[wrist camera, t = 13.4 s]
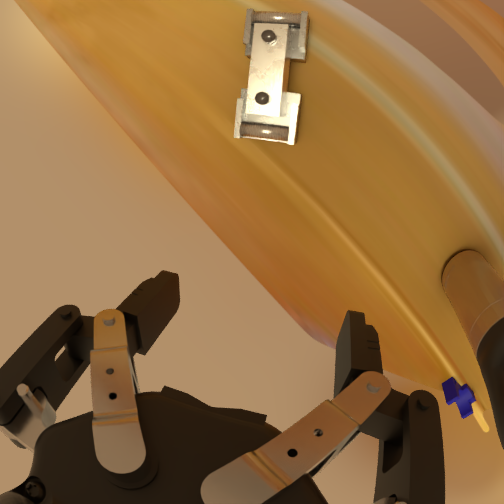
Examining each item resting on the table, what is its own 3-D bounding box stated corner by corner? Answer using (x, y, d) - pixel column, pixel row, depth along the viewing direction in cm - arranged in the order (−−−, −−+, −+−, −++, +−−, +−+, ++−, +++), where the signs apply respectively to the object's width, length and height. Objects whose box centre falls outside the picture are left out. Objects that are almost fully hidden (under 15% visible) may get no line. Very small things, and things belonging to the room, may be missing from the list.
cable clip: (473, 391, 51) (478, 409, 46) (458, 400, 53) (463, 418, 48) (457, 372, 50) (463, 392, 45) (441, 383, 52) (446, 402, 47)
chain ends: (309, 20, 31) (307, 10, 27) (296, 142, 40) (293, 145, 36) (254, 17, 33) (246, 7, 29) (241, 135, 41) (232, 137, 37)
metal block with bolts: (292, 35, 31) (286, 22, 26) (284, 116, 36) (277, 116, 31) (263, 33, 32) (252, 20, 26) (254, 113, 37) (243, 113, 32)
